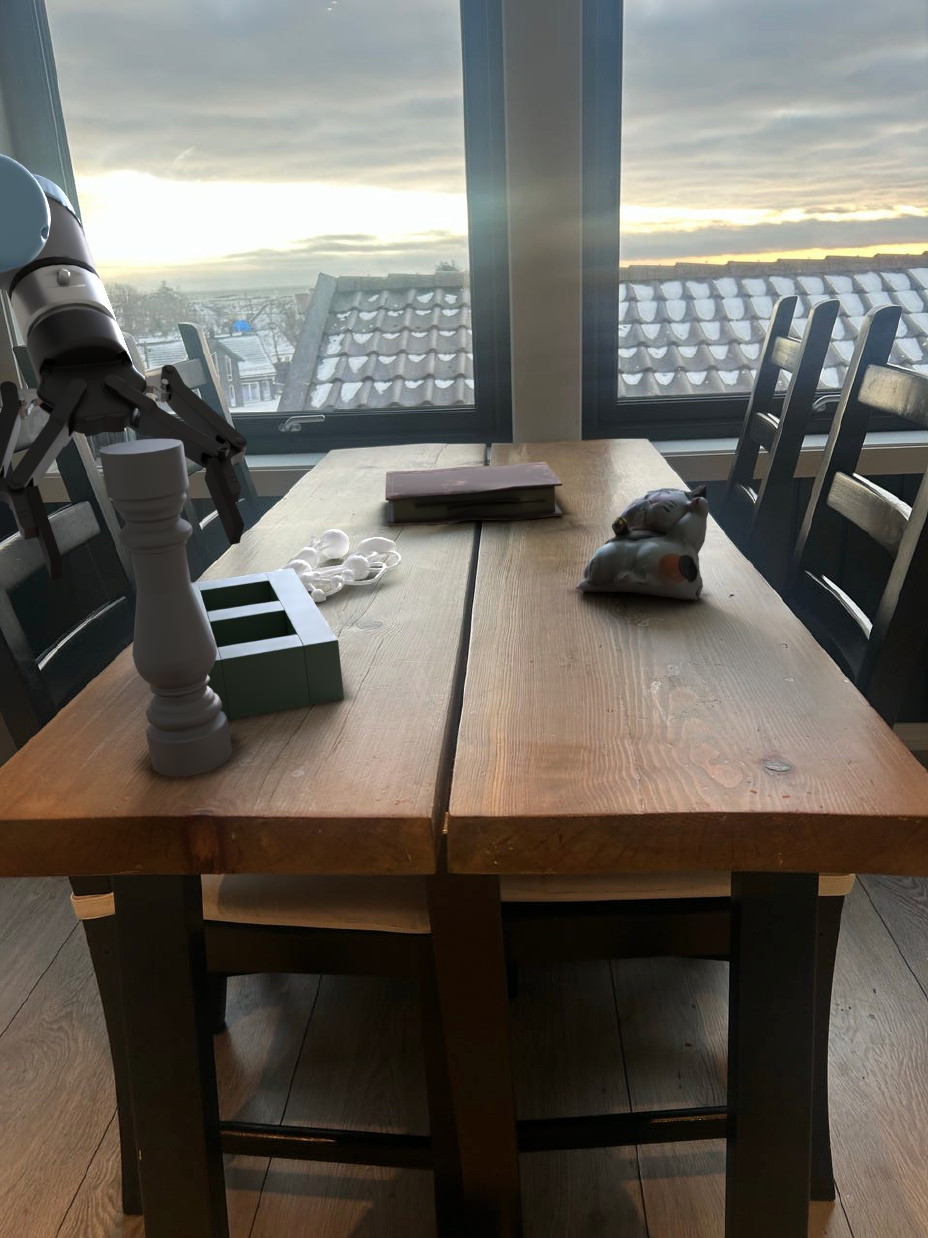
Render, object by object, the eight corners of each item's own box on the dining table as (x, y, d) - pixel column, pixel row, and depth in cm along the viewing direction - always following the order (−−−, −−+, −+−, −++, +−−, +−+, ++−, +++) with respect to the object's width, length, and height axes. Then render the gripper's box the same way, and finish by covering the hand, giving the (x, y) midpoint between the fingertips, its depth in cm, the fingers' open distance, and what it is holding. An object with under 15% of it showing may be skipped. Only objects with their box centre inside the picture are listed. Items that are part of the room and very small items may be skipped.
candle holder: (245, 764, 78) (199, 445, 69) (167, 790, 75) (109, 458, 66) (216, 736, 83) (169, 434, 74) (141, 759, 80) (84, 447, 71)
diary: (388, 500, 158) (386, 468, 156) (545, 489, 159) (544, 458, 158) (387, 530, 141) (385, 495, 139) (563, 518, 142) (563, 483, 140)
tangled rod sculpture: (332, 627, 109) (330, 592, 107) (228, 602, 115) (224, 568, 113) (421, 570, 124) (420, 538, 123) (325, 550, 131) (323, 520, 129)
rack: (194, 731, 84) (183, 665, 82) (176, 640, 104) (167, 586, 102) (344, 703, 88) (338, 639, 85) (299, 621, 108) (292, 568, 106)
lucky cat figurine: (557, 589, 113) (586, 470, 114) (648, 615, 117) (674, 500, 118) (622, 588, 99) (654, 453, 100) (723, 618, 103) (752, 488, 104)
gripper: (-104, 316, 73) (-34, 558, 66) (225, 292, 85) (313, 495, 78) (-90, 384, 79) (-25, 611, 73) (214, 353, 91) (295, 546, 84)
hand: (150, 552), depth 75 cm, fingers open, 13 cm apart
